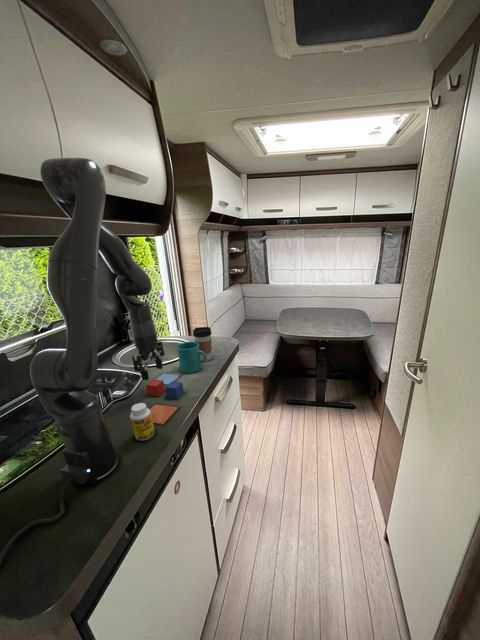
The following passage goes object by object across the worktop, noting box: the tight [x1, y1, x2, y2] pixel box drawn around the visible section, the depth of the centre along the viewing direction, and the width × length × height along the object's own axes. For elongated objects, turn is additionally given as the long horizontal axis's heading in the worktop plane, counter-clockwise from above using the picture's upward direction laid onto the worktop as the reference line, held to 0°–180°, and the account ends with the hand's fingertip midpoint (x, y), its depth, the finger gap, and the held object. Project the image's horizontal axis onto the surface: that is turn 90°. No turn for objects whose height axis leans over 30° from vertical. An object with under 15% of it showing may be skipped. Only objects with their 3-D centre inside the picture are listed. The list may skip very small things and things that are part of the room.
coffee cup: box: [192, 326, 212, 362], centre depth 129 cm, size 8×8×15 cm
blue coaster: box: [156, 373, 181, 386], centre depth 114 cm, size 8×8×1 cm
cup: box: [176, 341, 207, 374], centre depth 120 cm, size 9×12×11 cm
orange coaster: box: [149, 404, 179, 425], centre depth 92 cm, size 9×9×1 cm
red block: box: [145, 378, 166, 397], centre depth 104 cm, size 4×4×4 cm
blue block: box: [164, 381, 184, 400], centre depth 102 cm, size 4×4×4 cm
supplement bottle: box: [129, 402, 156, 442], centre depth 81 cm, size 6×6×10 cm
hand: (153, 373), depth 102 cm, fingers open, 8 cm apart
